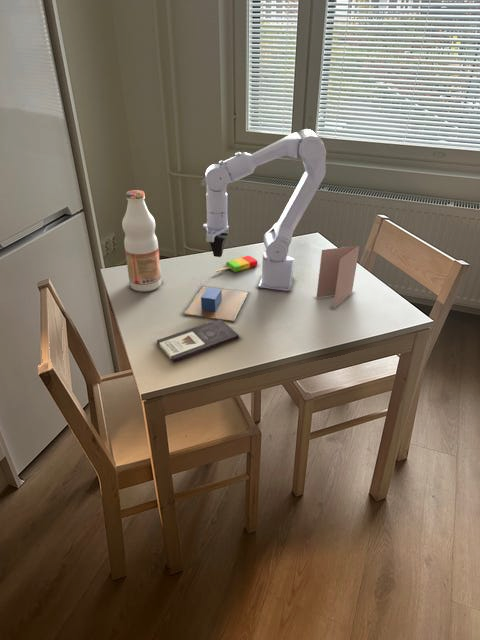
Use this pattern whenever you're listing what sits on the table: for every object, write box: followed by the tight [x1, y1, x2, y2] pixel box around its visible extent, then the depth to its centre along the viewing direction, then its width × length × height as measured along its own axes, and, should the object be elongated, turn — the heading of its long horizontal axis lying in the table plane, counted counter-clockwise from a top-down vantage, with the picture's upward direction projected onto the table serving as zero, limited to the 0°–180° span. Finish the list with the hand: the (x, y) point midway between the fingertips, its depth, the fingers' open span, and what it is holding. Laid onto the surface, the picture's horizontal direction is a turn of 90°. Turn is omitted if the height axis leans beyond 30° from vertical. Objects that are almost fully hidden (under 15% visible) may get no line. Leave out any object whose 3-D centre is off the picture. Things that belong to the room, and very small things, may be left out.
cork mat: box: [183, 286, 249, 322], centre depth 128 cm, size 14×16×1 cm
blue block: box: [201, 286, 222, 312], centre depth 125 cm, size 4×4×6 cm
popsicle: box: [214, 255, 258, 273], centre depth 147 cm, size 6×15×2 cm, turn 124°
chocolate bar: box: [156, 319, 240, 363], centre depth 112 cm, size 9×1×18 cm
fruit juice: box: [121, 189, 162, 292], centre depth 130 cm, size 9×9×28 cm
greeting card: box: [316, 244, 360, 309], centre depth 126 cm, size 11×7×15 cm, turn 107°
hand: (217, 255), depth 133 cm, fingers closed
